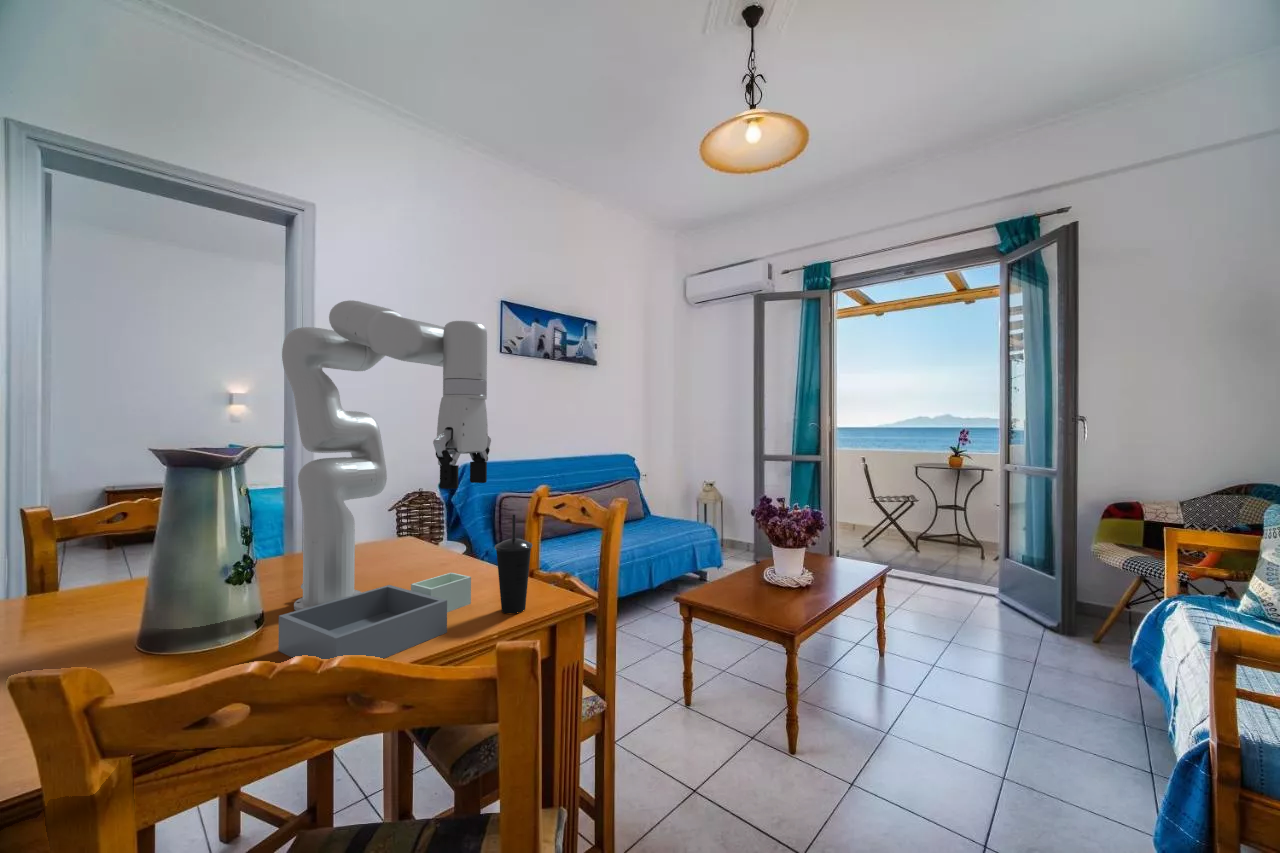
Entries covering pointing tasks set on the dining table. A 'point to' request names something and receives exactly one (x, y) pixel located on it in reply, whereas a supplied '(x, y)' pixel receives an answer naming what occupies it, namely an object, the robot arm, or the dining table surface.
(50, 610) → the dining table surface
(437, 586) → the block
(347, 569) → the robot arm
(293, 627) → the big crate
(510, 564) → the drinking cup
